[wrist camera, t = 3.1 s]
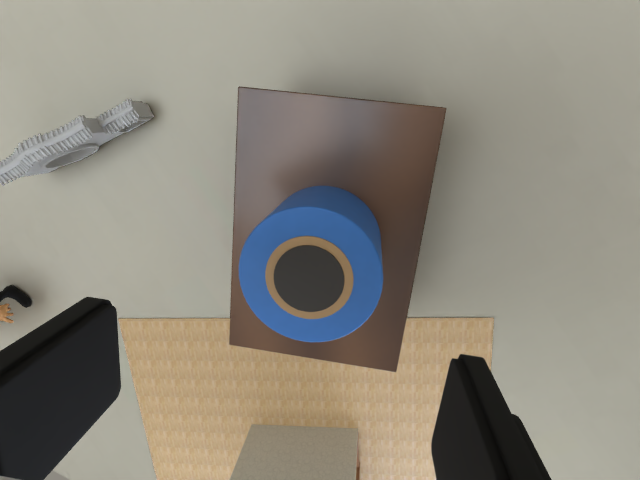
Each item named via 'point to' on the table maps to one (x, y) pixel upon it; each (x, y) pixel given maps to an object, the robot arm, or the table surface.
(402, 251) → the brown boxy piece
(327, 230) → the tape
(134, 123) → the lattice window wall
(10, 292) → the action figure
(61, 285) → the table surface
